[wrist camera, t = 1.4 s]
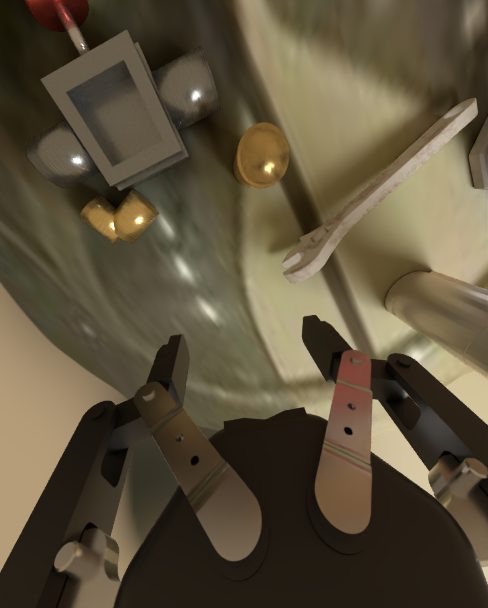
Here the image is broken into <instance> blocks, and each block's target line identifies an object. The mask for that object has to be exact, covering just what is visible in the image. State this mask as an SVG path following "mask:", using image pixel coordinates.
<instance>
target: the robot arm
mask: <svg viewBox="0 0 488 608" xmlns="http://www.w3.org/2000/svg"><path fill="white" fill-rule="evenodd" d="M385 305H386V308H387V310H388V311H389V312H390V313H391V314H393V315H394V316H396V317H397V318H399V319H400V320H402V321H403V322H405V323H406V324H407V325H409V326H410V327H412V328H413V329H415V330H416V331H418V332H419V333H421V334H422V335H424V336H425V337H427V338H428V339H429V340H431V341H432V342H434V343H435V344H437V345H438V346H440V347H441V348H443V349H444V350H446V351H447V352H449V353H450V354H452V355H453V356H454V357H456V358H457V359H459V360H460V361H462V362H463V363H465V364H466V365H468V366H469V367H471V368H472V369H474V370H475V371H477V372H478V373H480V374H481V375H483V376H484V377H485V378H487V379H488V290H486V289H483V288H480V287H477V286H475V285H472V284H469V283H466V282H463V281H461V280H458V279H455V278H452V277H449V276H446V275H444V274H441V273H438V272H435V271H431V272H423V271H416V272H412V273H409V274H407V275H405V276H404V277H402V278H401V279H399V280H398V281H397V282H396V283H395V284H394V285H393V286H392V287H391V289H390V290H389V292H388V294H387V297H386V301H385ZM302 339H303V343H304V345H305V346H306V348H307V350H308V351H309V353H310V355H311V356H312V358H313V360H314V361H315V363H316V365H317V366H318V368H319V370H320V372H321V373H322V375H323V377H324V378H325V380H326V382H333V381H334V382H335V384H336V386H335V391H334V396H333V400H332V405H331V410H330V415H329V419H328V421H327V420H326V419H324V418H321V417H319V416H316V415H312V414H307V413H306V411H305V409H304V407H302V408H296V409H291V410H285V411H283V412H281V413H279V414H276V415H274V416H272V417H270V418H268V419H251V418H241V419H235V420H230V421H224V429H222V430H220V431H219V432H217V433H216V434H214V435H213V436H212V437H211V438H210V439H209V440H208V439H207V438H206V437H205V435H204V434H203V433H202V432H201V430H200V429H199V428H198V427H197V425H196V424H195V423H194V421H193V420H192V419H191V418H190V416H189V415H188V414H187V413H186V411H185V410H184V409H183V408H182V407H183V402H184V395H185V388H186V381H187V375H188V368H189V360H190V358H189V351H188V348H187V345H186V341H185V338H184V335H183V334H180V335H173V336H170V339H169V342H168V344H166V345H163V346H162V347H161V348H160V349H159V350H158V352H157V355H156V357H155V358H156V359H155V360H154V364H153V366H152V369H151V371H150V374H149V377H148V380H147V383H146V384H145V385H143V386H142V387H140V388H139V389H138V390H137V392H136V393H135V395H134V397H133V398H131V399H129V400H127V401H124V402H122V403H120V404H117V405H115V404H114V403H113V402H112V401H103V402H100V403H98V404H96V405H94V406H93V407H91V408H90V409H89V410H88V411H87V412H86V413H85V414H84V415H83V417H82V419H81V421H80V423H79V424H78V426H77V428H76V430H75V432H74V434H73V436H72V438H71V440H70V442H69V443H68V445H67V447H66V449H65V451H64V453H63V455H62V457H61V458H60V460H59V462H58V464H57V466H56V468H55V470H54V472H53V474H52V476H51V477H50V480H49V481H48V483H47V485H46V487H45V489H44V491H43V493H42V495H41V496H40V498H39V500H38V502H37V504H36V506H35V508H34V510H33V511H32V513H31V515H30V517H29V519H28V521H27V523H26V525H25V527H24V529H23V530H22V533H21V534H20V536H19V538H18V540H17V542H16V544H15V545H14V547H13V549H12V552H11V553H10V555H9V557H8V559H7V561H6V563H5V564H4V566H3V568H2V570H1V572H0V608H488V584H487V581H486V579H485V576H484V573H483V570H482V567H487V566H488V425H487V424H486V423H485V422H484V421H482V420H481V419H480V418H479V417H478V416H477V415H476V414H475V413H474V412H472V411H471V410H470V409H469V408H468V407H467V406H466V405H465V404H464V403H463V402H461V401H460V400H459V399H458V398H457V397H456V396H455V395H454V394H453V393H451V392H450V391H449V390H448V389H447V388H446V387H445V386H444V385H443V384H442V383H440V382H439V381H438V380H437V379H436V378H435V377H434V376H433V375H432V374H430V373H429V372H428V371H427V370H426V369H425V368H424V367H423V366H422V365H420V364H419V363H418V362H417V361H416V360H415V359H413V358H411V357H409V356H407V355H404V354H399V353H394V354H390V355H389V356H388V358H387V360H376V359H370V358H369V357H368V356H367V355H366V354H364V353H363V352H360V351H357V350H353V349H352V348H351V347H350V346H349V344H348V343H347V342H346V341H345V340H344V339H343V338H342V337H341V335H340V334H339V333H338V332H337V331H336V330H335V329H334V327H333V326H332V325H330V324H329V323H327V322H325V321H320V319H319V318H318V317H317V316H316V315H311V316H304V317H303V327H302ZM408 395H409V396H410V397H411V398H410V397H409V396H408ZM372 399H376V400H379V402H380V403H381V405H382V406H383V407H384V409H385V410H386V412H387V413H388V414H389V416H390V417H391V419H392V420H393V421H394V423H395V424H396V426H397V427H398V428H399V430H400V431H401V433H402V434H403V435H404V437H405V438H406V439H407V441H408V442H409V444H410V445H411V446H412V448H413V449H414V451H415V452H416V453H417V455H418V456H419V458H420V459H421V460H422V462H423V463H424V465H425V466H426V467H427V469H428V470H429V474H428V480H429V484H430V486H431V488H432V490H433V492H434V496H435V498H436V499H435V498H434V497H433V496H432V495H430V494H429V493H428V492H427V491H425V490H424V489H422V488H421V487H420V486H418V485H417V484H415V483H414V482H413V481H411V480H410V479H408V478H407V477H406V476H404V475H403V474H402V473H400V472H399V471H397V470H396V469H395V468H393V467H392V466H390V465H389V464H388V463H386V462H385V461H383V460H382V459H380V458H379V457H378V456H376V455H375V454H374V453H372V452H371V425H372ZM414 402H415V403H416V404H417V405H416V404H415V403H414ZM150 436H153V438H154V440H155V441H156V443H157V445H158V447H159V449H160V450H161V452H162V454H163V456H164V458H165V460H166V461H167V463H168V465H169V467H170V468H171V470H172V472H173V474H174V475H175V477H176V479H177V481H178V483H179V485H178V487H177V489H176V490H175V492H174V494H173V495H172V497H171V498H170V500H169V502H168V503H167V505H166V506H165V508H164V509H163V511H162V512H161V514H160V516H159V517H158V519H157V520H156V522H155V524H154V525H153V527H152V528H151V530H150V532H149V533H148V535H147V536H146V538H145V540H144V541H143V543H142V544H141V546H140V548H139V549H138V551H137V552H136V554H135V555H134V557H133V559H132V561H131V562H130V564H129V566H128V568H127V570H126V572H125V574H124V576H123V579H122V581H121V582H120V579H119V576H118V560H119V546H118V544H117V542H116V541H115V540H114V539H113V538H112V537H110V536H111V532H112V529H113V524H114V521H115V517H116V513H117V509H118V506H119V502H120V498H121V494H122V490H123V487H124V483H125V479H126V475H127V471H128V468H129V463H130V460H131V456H132V452H133V449H134V445H135V444H136V443H138V442H140V441H142V440H144V439H146V438H148V437H150Z"/></svg>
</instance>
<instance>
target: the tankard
mask: <svg viewBox="0 0 488 608" xmlns="http://www.w3.org/2000/svg"><path fill="white" fill-rule="evenodd" d="M469 161H470V166H471V172H472V177H473V182H474V188H475V189H486V190H488V116H487V118H486V120H485V122H484V125H483V127H482V129H481V131H480V133H479V135H478V137H477V139H476V141H475V143H474V145H473V148H472V150H471V152H470V154H469Z"/></svg>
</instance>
